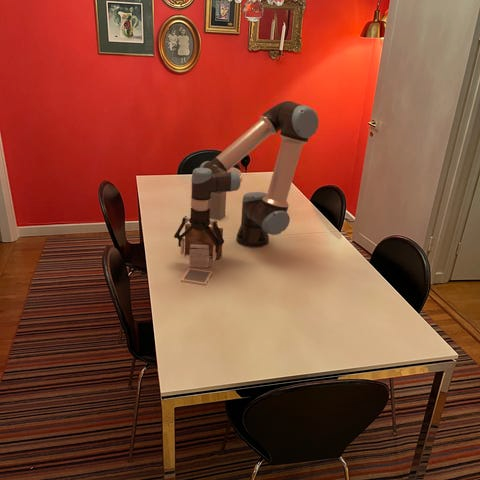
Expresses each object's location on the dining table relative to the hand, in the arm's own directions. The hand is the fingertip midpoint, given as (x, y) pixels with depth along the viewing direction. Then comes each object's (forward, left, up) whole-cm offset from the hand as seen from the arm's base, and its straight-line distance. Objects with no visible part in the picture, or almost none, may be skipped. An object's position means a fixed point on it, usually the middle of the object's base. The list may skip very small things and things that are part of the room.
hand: (198, 256), depth 192 cm
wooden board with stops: (+1, -10, -4) cm, 11 cm away
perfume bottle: (+6, -54, -4) cm, 55 cm away
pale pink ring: (+19, -118, -5) cm, 120 cm away
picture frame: (-2, +10, -4) cm, 11 cm away
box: (0, 0, -4) cm, 4 cm away
